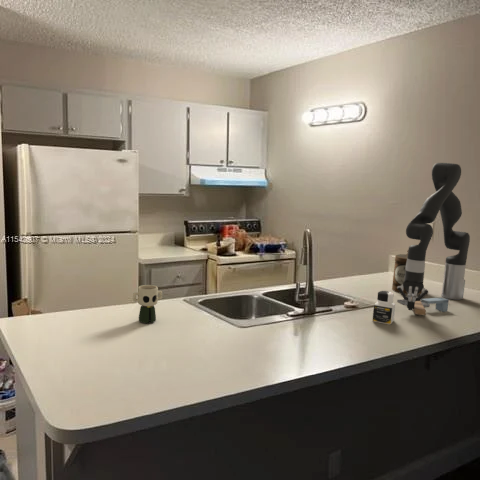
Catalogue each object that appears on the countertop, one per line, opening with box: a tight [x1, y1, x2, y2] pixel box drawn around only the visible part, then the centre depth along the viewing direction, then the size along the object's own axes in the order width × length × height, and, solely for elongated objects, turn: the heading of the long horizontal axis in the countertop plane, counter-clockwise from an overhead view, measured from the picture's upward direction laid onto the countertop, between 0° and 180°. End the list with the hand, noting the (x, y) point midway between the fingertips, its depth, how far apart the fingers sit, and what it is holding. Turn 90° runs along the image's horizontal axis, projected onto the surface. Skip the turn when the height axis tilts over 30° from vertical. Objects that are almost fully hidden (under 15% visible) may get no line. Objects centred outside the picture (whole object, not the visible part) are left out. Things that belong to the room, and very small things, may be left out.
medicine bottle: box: [372, 290, 396, 325], centre depth 188 cm, size 7×7×12 cm
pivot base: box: [396, 293, 431, 308], centre depth 217 cm, size 10×10×5 cm
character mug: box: [132, 284, 163, 324], centre depth 171 cm, size 11×7×13 cm, turn 119°
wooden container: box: [391, 249, 425, 295], centre depth 242 cm, size 15×15×22 cm
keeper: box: [420, 297, 450, 313], centre depth 208 cm, size 12×4×5 cm, turn 112°
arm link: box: [411, 297, 427, 316], centre depth 208 cm, size 24×5×2 cm, turn 167°
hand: (410, 309), depth 200 cm, fingers closed
